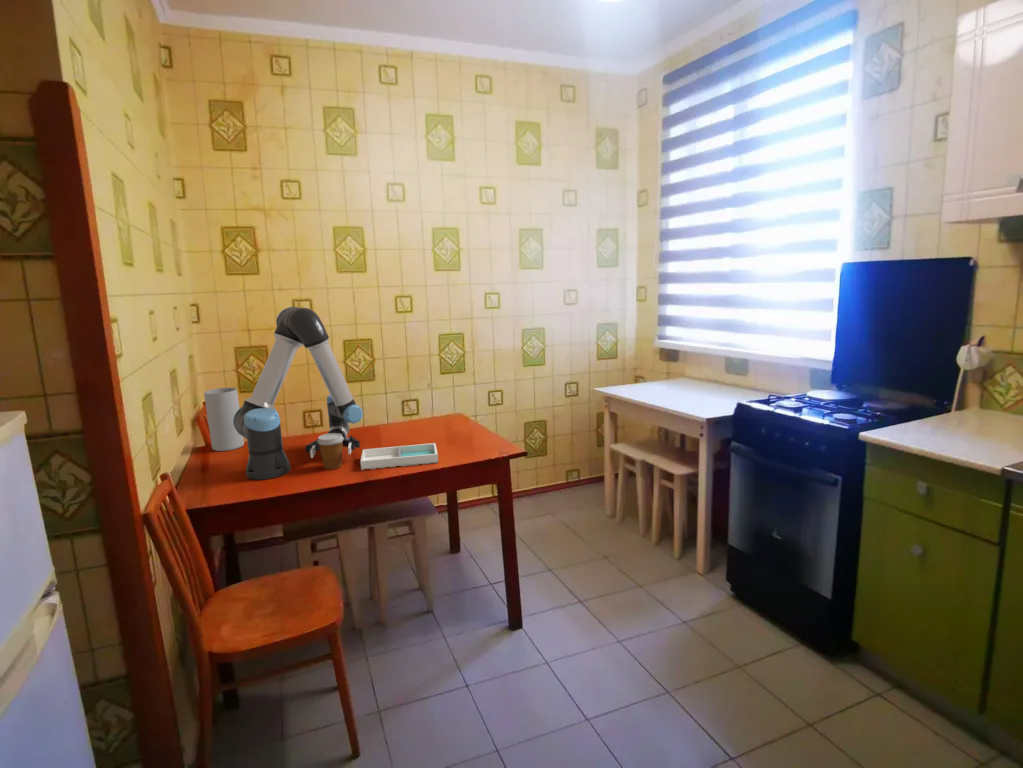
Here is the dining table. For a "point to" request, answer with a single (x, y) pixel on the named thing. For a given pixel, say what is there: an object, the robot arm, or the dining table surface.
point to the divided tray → (399, 456)
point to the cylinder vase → (223, 418)
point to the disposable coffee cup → (331, 450)
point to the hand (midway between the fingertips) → (330, 452)
